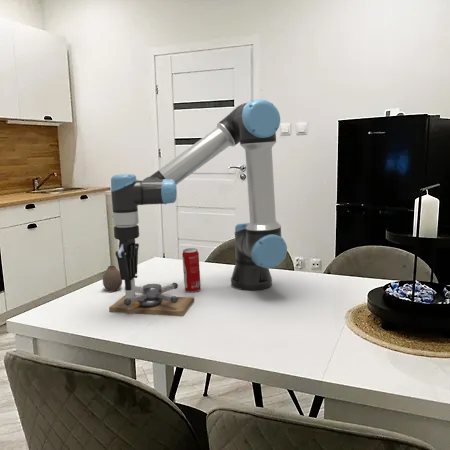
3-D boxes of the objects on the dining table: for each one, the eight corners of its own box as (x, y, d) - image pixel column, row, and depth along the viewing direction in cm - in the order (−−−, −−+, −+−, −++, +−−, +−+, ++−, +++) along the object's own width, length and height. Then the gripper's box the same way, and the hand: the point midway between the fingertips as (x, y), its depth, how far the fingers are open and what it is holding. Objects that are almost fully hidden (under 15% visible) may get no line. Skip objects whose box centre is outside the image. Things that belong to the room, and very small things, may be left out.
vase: (120, 292, 161) (118, 268, 160) (100, 292, 161) (99, 268, 160) (124, 286, 168) (123, 263, 167) (106, 286, 168) (104, 263, 167)
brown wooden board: (194, 301, 150) (194, 296, 149) (181, 317, 136) (181, 311, 136) (126, 298, 154) (125, 293, 154) (107, 313, 141) (107, 307, 140)
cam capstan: (155, 286, 161) (154, 273, 160) (201, 299, 147) (201, 284, 146) (102, 304, 144) (101, 288, 143) (149, 319, 130) (148, 302, 129)
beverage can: (201, 287, 165) (200, 247, 162) (199, 293, 158) (197, 251, 156) (185, 287, 165) (184, 247, 163) (182, 293, 159) (180, 251, 157)
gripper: (123, 221, 145) (127, 292, 149) (105, 228, 133) (110, 305, 137) (145, 221, 144) (149, 292, 148) (129, 229, 131) (134, 306, 135)
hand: (130, 298), depth 142 cm, fingers closed
